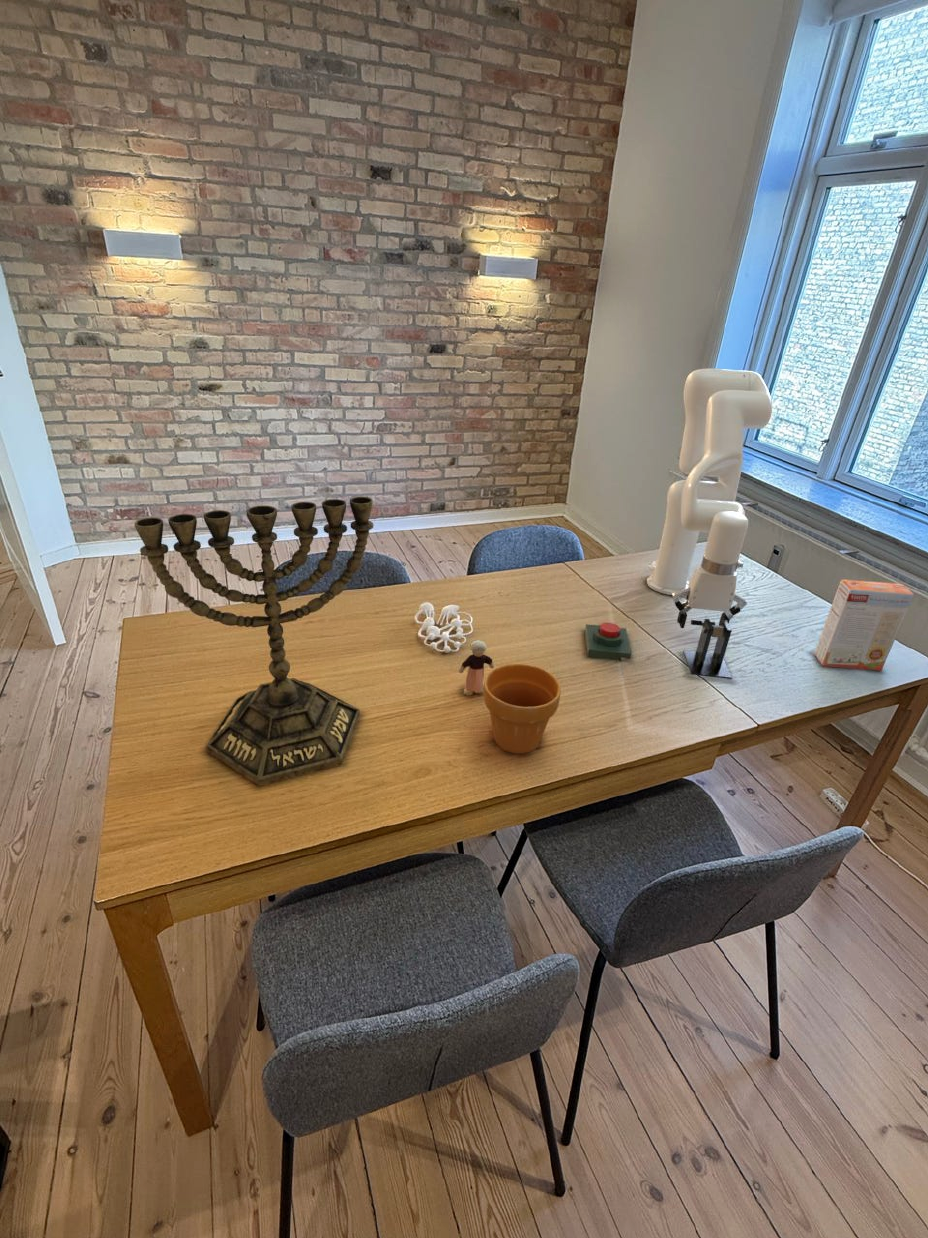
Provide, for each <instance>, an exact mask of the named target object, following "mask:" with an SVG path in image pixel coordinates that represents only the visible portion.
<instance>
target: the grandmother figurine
mask: <svg viewBox="0 0 928 1238" xmlns="http://www.w3.org/2000/svg"><path fill="white" fill-rule="evenodd" d="M487 649H488V647H487V644H486V643H485V642H484V641H482V640H480V639H477V640H473V641H472V643H471V644H470V650H471V653H472V654H470V655H468V656H467V658H466V659H465V660H464V661H463V662H462V663H461V665H460V668H459V669H458V672H459V673H460V674H462V673H464V671H465V670H466V668H468V669H467V674H466V678H465V686H464V689H463V695H464V696H470V697H471V696H472V695H474V694H477V695H483V694H484V688H483V686H484V680H485V678H484V677H485V664H486V665H488V667H489V668H490V669H495V664H494V662H493V659H492V658H491V657H490V656H489V655H486V654H485V651H487Z"/></svg>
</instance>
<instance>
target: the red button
mask: <svg viewBox="0 0 928 1238" xmlns="http://www.w3.org/2000/svg"><path fill="white" fill-rule="evenodd" d="M600 625H601V626H600V631H599V633H600V634H601V635H602V636H605V637H609V638H615V637H618V635H619V630H620V628H621V627H620V626H619V625H618V624H616V623H614V622H602V623H601V624H600Z"/></svg>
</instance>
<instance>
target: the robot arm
mask: <svg viewBox="0 0 928 1238" xmlns="http://www.w3.org/2000/svg"><path fill="white" fill-rule="evenodd" d="M683 405H684V413H685V422H684V423H685V424H684V429H683V435H682V441H681V447H680V454H679V461H678V463H679V464H678V465H679V470H680V471H681V472H682V473H683V474H686V475H687V477H686V479H681V480H678V481H675V482H673V483H672V484H671V485H670V486H669V489H668V490H667V497H666V512H665V513H666V514H665V520H664V526H663V529H662V536H661V541H660V545H659V549H658V553H657V558H656V560H654V561H652V562H651V563H650V564H649V565H648V566H647V569H648V570H650V571H651V575H650V574H649V576H648V577H647V579H646V584H647V586H648V587H649V588H650V589H651V590H653V591H655V592H657V593H659V594H663V595H668V596H671V597H672V600H673V603H674V606H675V607H676V608H677V610H678V611H679V612H678V615H677V620H676V621H677V624H679V627H680V629H684V628H685V625H686V622H687V619H688V612H689V611H691V610H692V609H695V610H704V611H715V612H722V613H721V616H720V619H719V622H718V625H719V626H721V625H722V621H727V622H728V624H729V625H730V621H731V619H733V617H734V616H736V615H737V614H739V613H740V612H741V611H742V609H744V608H745V607H746V605H747V604H748V602H747V600H746V599H745V598H743V597H741V595H738V594H736V587H737V578H738V573H737V569H742V568H743V567H744V562H743V561H740V560H739V559H740V555H741V552H742V549H743V545H744V541H745V538H746V535H747V532H748V528H749V524H750V523H749V519H748V518H747V516H746V511H745V509H744V507H743V505H742V504H741V503H739V502H738V501H737V502H736V499H737V494H738V489H739V484H740V479H741V475H742V470H743V464H744V450H743V449H744V432H745V431H744V430H745V429H746V430H747V429H749V430H761V429H764V428H765V427H767V425H769V422H770V420H771V417H772V413H773V400H772V396H771V394H770V391H769V388H768V387H767V385H766V383H765V381H764V379H763V378H762V376H761V375H760V374H759V373H758V372H756V371H752V370H741V369H725V368H699V369H695V370H693V371H692V372H690V373H689V374H688V376H687V378H686V380H685V383H684V388H683ZM703 477H714V478H717V479H718V480H717V481H708V480H702V479H703ZM700 533H708V536H707V541H706V545H705V548H704V552H703V556H702V559H701V564H696V567H695V569H694V571H693V573H692V575H691V577H690V579H689V576H690V572H691V568H692V564H693V560H694V555H695V552H696V548H697V543H698V539H699V534H700ZM681 598H685V601H683V602H681V601H680V599H681ZM733 602H735V603H736V605H733Z"/></svg>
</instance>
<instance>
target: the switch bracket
mask: <svg viewBox="0 0 928 1238" xmlns="http://www.w3.org/2000/svg"><path fill="white" fill-rule="evenodd" d="M703 621H704V624H703V626H702V628H701V631H700V635H699V639H698V643H697V647H696V650H695V651H694V650H683V654H684V658H685V660H686V661H685V662H686V663H687V666H688V669H689V671H690V675H692V676H702V677H710V678H719V679H729V680H732V679H733V677H732V674H731V672H730V669H729V667H728V665H727V663H726V662H725V659H724V658H725V655H726V651H727V648H728V644H729V642H730V638H731V636H732V628H731V626H730V623H729V624H728V622H727V621H722V625H721V626H722V627H723V628H724V630H723V636H722V638H716V642H715V646H714V650H713V652H708V649H709V647H710V642H711V639H712V632H713V626H712V624H711V622H710V621H711V620H710V619H709V618H704V620H703Z"/></svg>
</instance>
